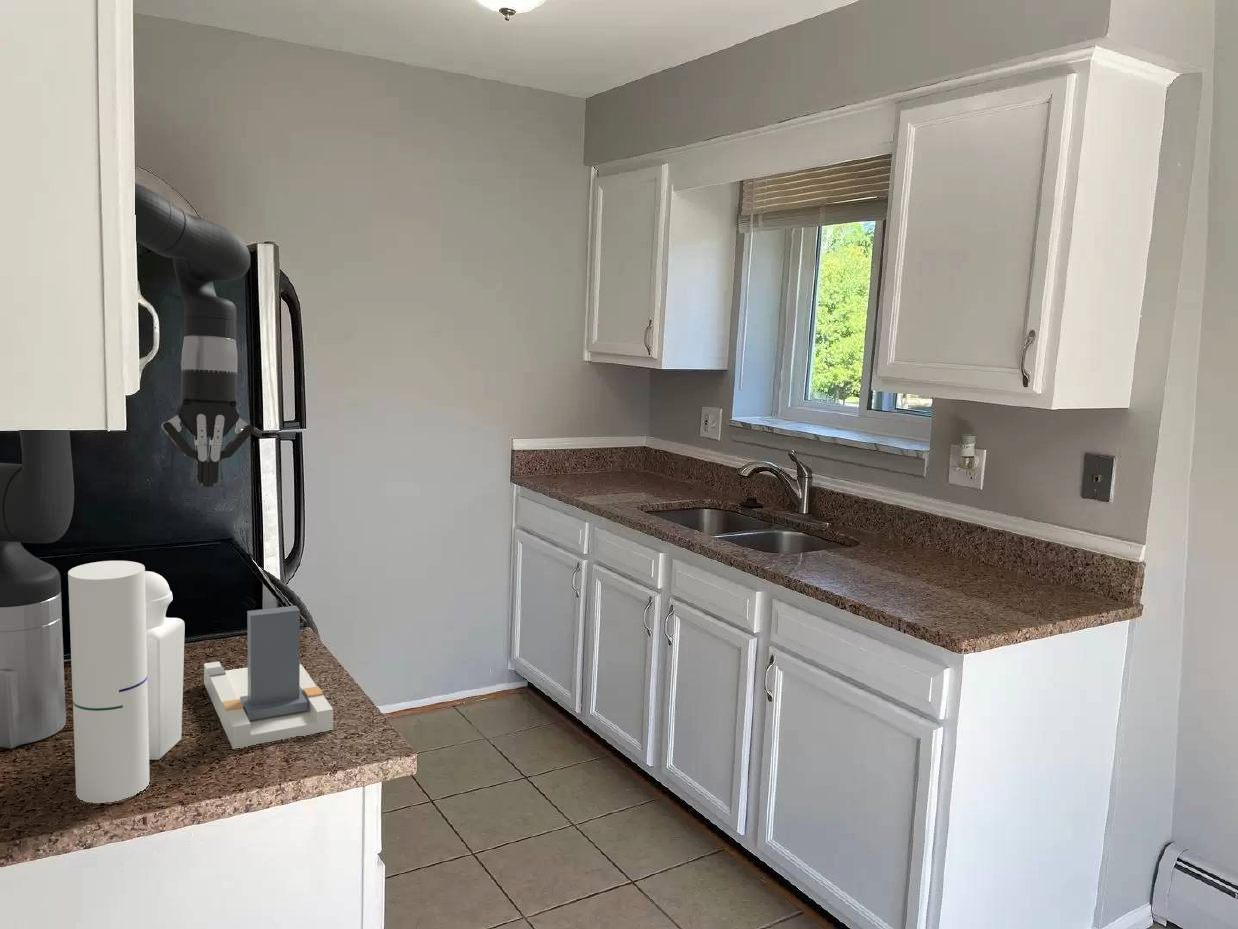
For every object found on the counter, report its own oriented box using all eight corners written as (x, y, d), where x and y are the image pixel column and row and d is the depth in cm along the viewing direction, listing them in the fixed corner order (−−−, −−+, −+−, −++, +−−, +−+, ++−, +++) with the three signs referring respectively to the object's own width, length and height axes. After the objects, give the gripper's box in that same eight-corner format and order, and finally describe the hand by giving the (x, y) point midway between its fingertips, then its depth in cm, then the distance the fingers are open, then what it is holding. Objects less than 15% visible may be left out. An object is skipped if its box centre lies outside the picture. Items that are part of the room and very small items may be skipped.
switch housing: (204, 683, 131) (203, 661, 130) (291, 670, 137) (292, 649, 137) (233, 749, 113) (233, 724, 112) (332, 731, 119) (333, 707, 119)
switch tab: (239, 705, 121) (239, 608, 119) (298, 696, 125) (298, 601, 123) (247, 720, 117) (247, 620, 114) (307, 710, 121) (308, 613, 118)
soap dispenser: (187, 738, 115) (185, 566, 112) (160, 763, 109) (157, 581, 105) (135, 734, 115) (131, 562, 112) (105, 759, 109) (100, 578, 105)
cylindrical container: (162, 786, 104) (158, 570, 99) (96, 812, 98) (89, 583, 94) (128, 766, 107) (123, 557, 103) (63, 790, 102) (54, 569, 98)
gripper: (162, 364, 130) (160, 488, 130) (262, 371, 137) (259, 488, 137) (156, 367, 136) (154, 485, 137) (252, 373, 143) (249, 485, 144)
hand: (207, 486), depth 137 cm, fingers closed
